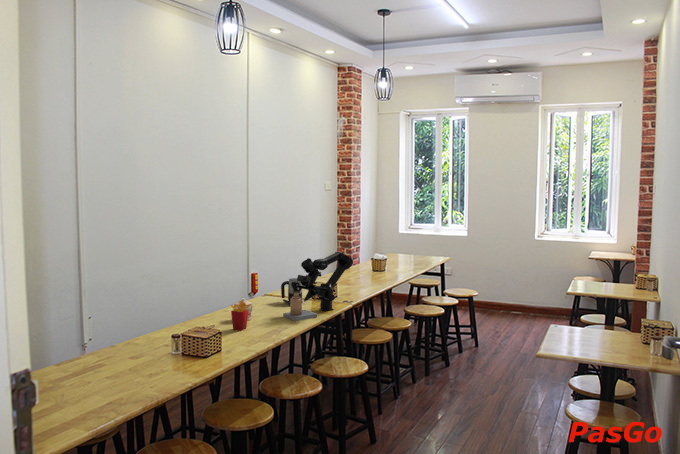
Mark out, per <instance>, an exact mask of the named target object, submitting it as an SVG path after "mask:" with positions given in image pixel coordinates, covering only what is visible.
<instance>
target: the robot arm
mask: <svg viewBox="0 0 680 454" xmlns="http://www.w3.org/2000/svg"><path fill="white" fill-rule="evenodd" d="M336 261H337V267H336V268H335V270H334V271H333V272H332V274H331V276H330V277H329V278H328V280H327V281H326V283H323V282H322V283H321V284H320V286H318V285H316V284H317V282H316V281H317V279H318V278H319V277H322V272H321V271H325V270H326V269H327V268H328V266H329V265H331V264H333V263H335V262H336ZM353 263H354V260H353V258H352V257H350V256H348V255H346V254H344V252H343V251H336V252H334V253H331V254H330V255H328V256H326V257H324V258H317V259H314V260H313V261H312V259H311V258H309V257H307V259H305V260H303V261H302V262H301V263H300V266H301V268H302V269H303V270H304V272H305V273H306V275H303V274H298V275H297V277H296V278H297V281H300V283H301V284H302V285H300V284H299V283H298V282H292V283H291V286H292V287H293V291H299V293H300V291H301V289H302V290H306V291H307V293H306V295H305V297H304V299H303V302H307V301H308V300H310V299H311V298H314V297H315V296H317V297H318V300H320V302H319V303H320V306H319V307H320V308H319V310H320V311H323V312H330V311H334V310H335V309H334V308H333V301H335V299H336V296H335V294H334V287H335V286H336V284H337V283H338V281H339V280H340V278H341V277H342V275H343V274H344V273H345V271H348V270H349V269H350V268H351V267H352V266H353ZM292 296H294V293H293V295H292Z"/></svg>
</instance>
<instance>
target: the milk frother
mask: <svg viewBox="0 0 680 454" xmlns="http://www.w3.org/2000/svg"><path fill="white" fill-rule="evenodd" d="M292 282H298V283H299V284H300V285H302V284H301V283H300V281H297V277H295V278H292V277H291V278H288V280H285V281H283V282H282V283H281V286H280V289H281V290H280V292H281V293H280V294H281V299H282V302H283V303H285V304H286V305H289V306H290V299H291V298H292V295H293V287H292V286H291V283H292ZM286 285H288V286H287V288H288V289H287V294H288V296H287V299H285V297H286V295H285V294H286V293H285V292H286V290H285V286H286ZM299 296H300V298H302V299H303V289H301V291H300V293H299Z"/></svg>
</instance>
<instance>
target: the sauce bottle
mask: <svg viewBox="0 0 680 454" xmlns="http://www.w3.org/2000/svg"><path fill="white" fill-rule="evenodd" d="M293 293H294V296H292V298H291V299H290V305H289V306H290V311H289V312H290V315H294V316H298V315H302V310H303V297H302V298H300V296H299V291H293Z"/></svg>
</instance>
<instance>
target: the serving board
mask: <svg viewBox="0 0 680 454" xmlns="http://www.w3.org/2000/svg"><path fill="white" fill-rule="evenodd" d="M282 317H283V318H286V319H288V320H291V321H294V322H298V321H303V320H309V319H314V318H318V313H316V312H312V311H310V310H306V309H302V315H298V316H294V315H290V311H289V312H283V315H282Z"/></svg>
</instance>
